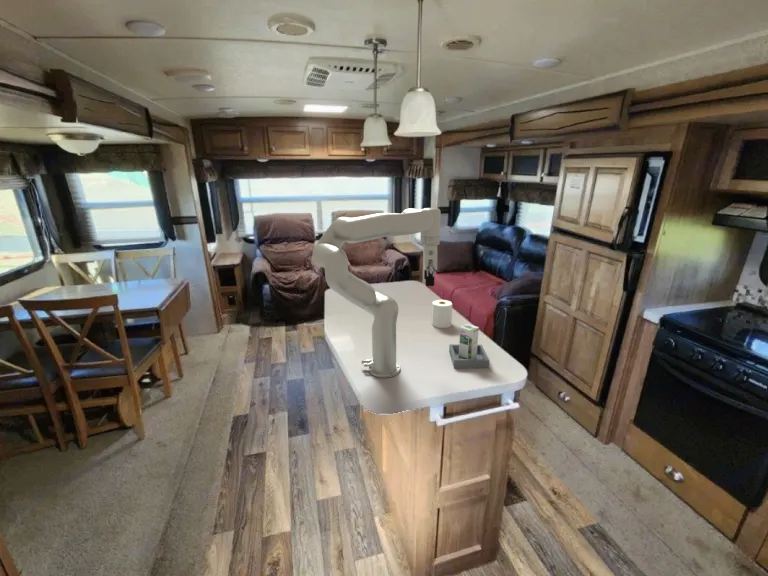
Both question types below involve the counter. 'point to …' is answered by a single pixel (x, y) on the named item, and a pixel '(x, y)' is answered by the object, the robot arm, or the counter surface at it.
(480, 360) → the box
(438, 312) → the toilet paper
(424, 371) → the counter surface
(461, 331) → the syrup box
